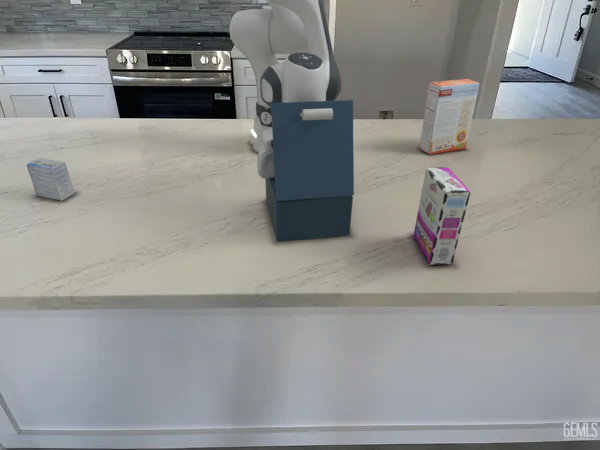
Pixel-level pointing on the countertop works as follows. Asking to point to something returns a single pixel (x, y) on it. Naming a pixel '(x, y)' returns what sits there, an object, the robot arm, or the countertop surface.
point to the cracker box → (448, 115)
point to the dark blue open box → (308, 216)
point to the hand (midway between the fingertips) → (302, 191)
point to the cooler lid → (313, 149)
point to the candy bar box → (440, 215)
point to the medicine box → (50, 178)
